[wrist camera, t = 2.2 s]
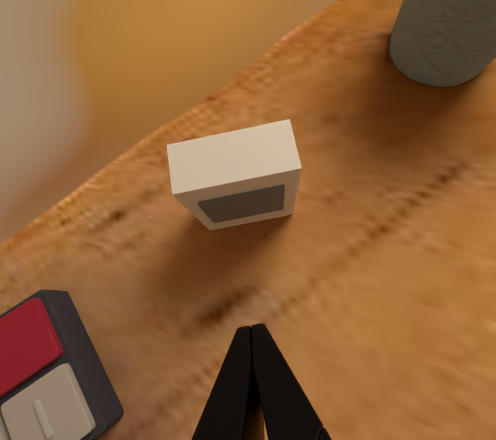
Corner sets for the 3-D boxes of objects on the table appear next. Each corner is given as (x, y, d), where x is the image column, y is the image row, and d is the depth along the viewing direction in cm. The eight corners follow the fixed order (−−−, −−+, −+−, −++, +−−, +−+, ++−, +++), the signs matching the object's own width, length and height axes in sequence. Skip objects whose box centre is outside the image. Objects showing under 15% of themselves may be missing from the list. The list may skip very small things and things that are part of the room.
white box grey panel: (293, 217, 24) (302, 172, 15) (210, 233, 24) (172, 198, 15) (285, 181, 25) (289, 119, 16) (205, 197, 25) (166, 145, 16)
